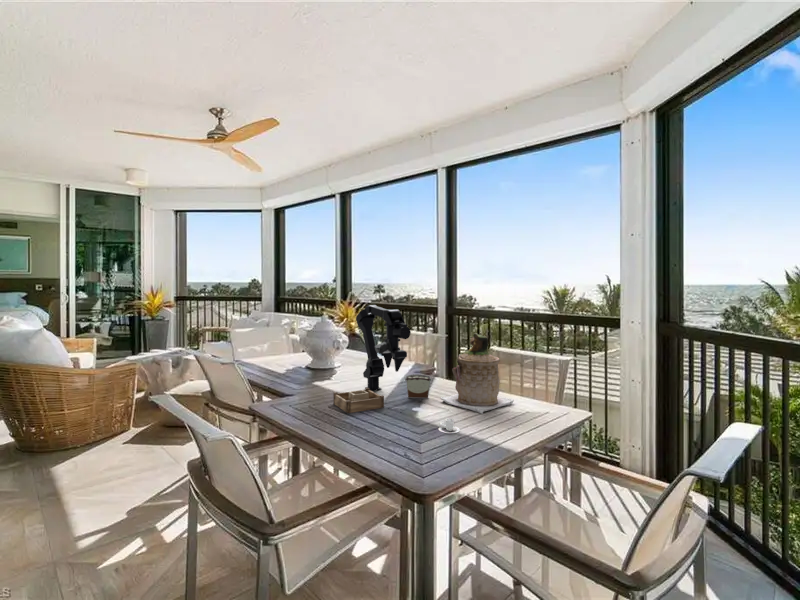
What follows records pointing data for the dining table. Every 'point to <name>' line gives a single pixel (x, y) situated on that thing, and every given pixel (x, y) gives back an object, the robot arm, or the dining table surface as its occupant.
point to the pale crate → (358, 395)
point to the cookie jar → (477, 379)
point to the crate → (358, 402)
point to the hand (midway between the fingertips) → (392, 369)
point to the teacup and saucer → (448, 426)
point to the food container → (418, 385)
